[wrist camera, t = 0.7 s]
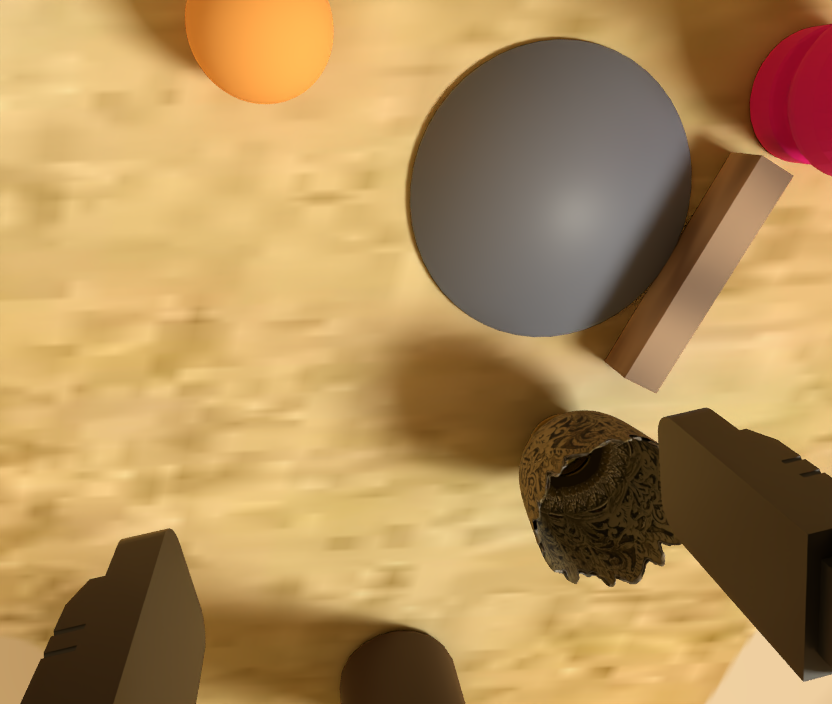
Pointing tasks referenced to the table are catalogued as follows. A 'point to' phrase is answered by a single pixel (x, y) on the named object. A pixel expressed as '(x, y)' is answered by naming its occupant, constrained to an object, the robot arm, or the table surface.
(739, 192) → the strip
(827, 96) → the pepper mill
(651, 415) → the table surface
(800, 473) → the robot arm
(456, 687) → the bottle
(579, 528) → the cup
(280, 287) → the table surface
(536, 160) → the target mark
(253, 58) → the ball
